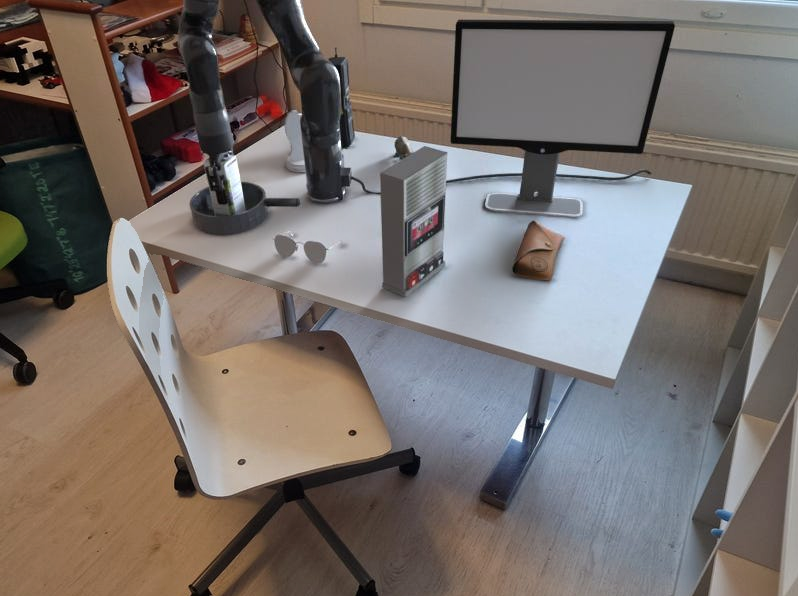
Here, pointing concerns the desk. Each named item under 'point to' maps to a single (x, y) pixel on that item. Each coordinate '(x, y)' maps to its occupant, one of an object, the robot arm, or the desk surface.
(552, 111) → the computer monitor
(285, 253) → the sunglasses
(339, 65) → the portable radio
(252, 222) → the pan
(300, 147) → the chess piece
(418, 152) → the cassette tape recorder
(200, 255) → the desk surface
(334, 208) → the desk surface
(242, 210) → the syrup box
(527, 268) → the sunglasses case
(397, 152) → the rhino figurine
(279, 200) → the pan handle
